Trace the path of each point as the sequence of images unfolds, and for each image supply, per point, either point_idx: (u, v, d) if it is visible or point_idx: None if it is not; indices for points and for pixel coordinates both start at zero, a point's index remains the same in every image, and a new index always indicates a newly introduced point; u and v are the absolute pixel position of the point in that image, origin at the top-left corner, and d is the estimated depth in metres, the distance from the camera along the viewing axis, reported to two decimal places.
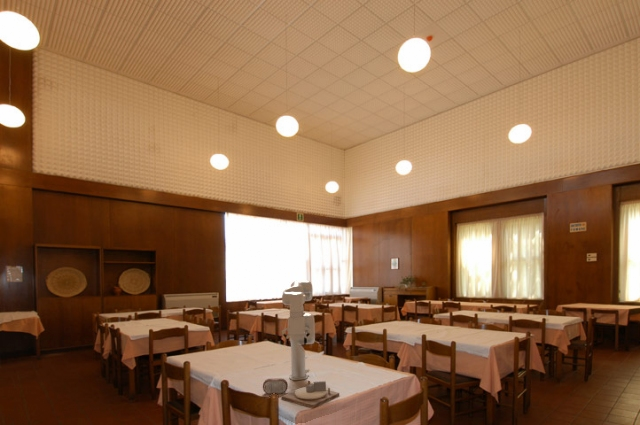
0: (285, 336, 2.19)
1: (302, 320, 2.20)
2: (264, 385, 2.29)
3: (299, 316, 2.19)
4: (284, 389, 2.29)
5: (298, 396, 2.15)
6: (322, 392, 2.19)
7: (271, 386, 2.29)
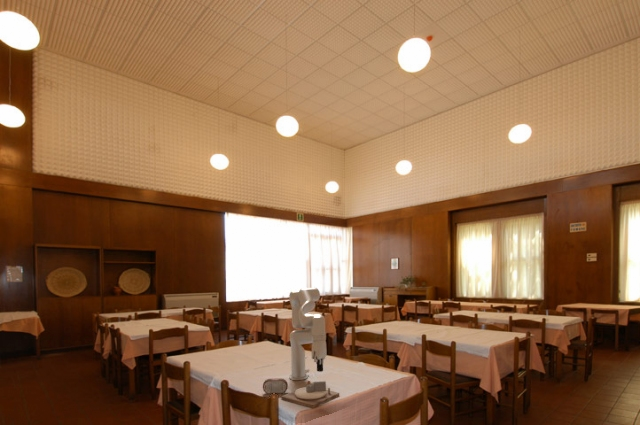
0: (319, 362, 2.16)
1: (325, 342, 2.22)
2: (264, 385, 2.29)
3: (325, 338, 2.20)
4: (284, 389, 2.29)
5: (298, 396, 2.15)
6: (322, 392, 2.19)
7: (271, 386, 2.29)
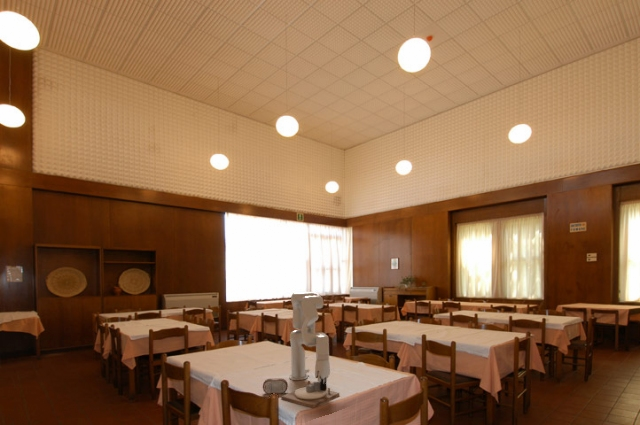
0: (322, 381, 2.18)
1: (328, 361, 2.23)
2: (264, 385, 2.29)
3: None
4: (284, 389, 2.29)
5: (298, 396, 2.15)
6: (322, 392, 2.19)
7: (271, 386, 2.29)
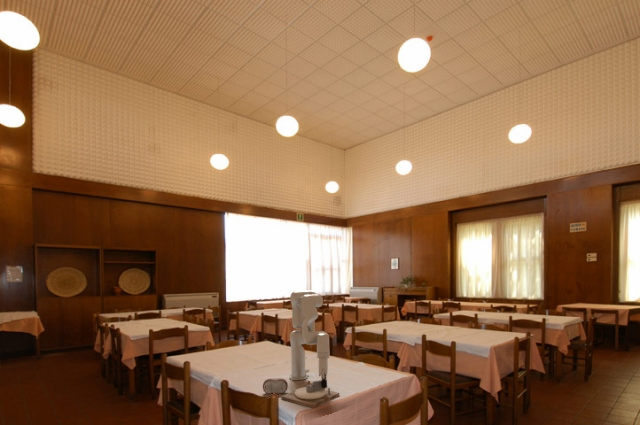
0: (325, 378, 2.21)
1: None
2: (264, 385, 2.29)
3: None
4: (284, 389, 2.29)
5: (302, 397, 2.13)
6: (323, 391, 2.22)
7: (271, 386, 2.29)
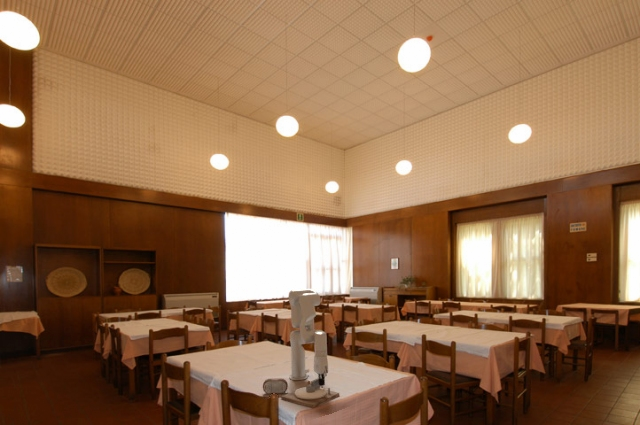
0: None
1: None
2: (264, 385, 2.29)
3: None
4: (284, 389, 2.29)
5: (310, 398, 2.13)
6: (321, 388, 2.25)
7: (271, 386, 2.29)
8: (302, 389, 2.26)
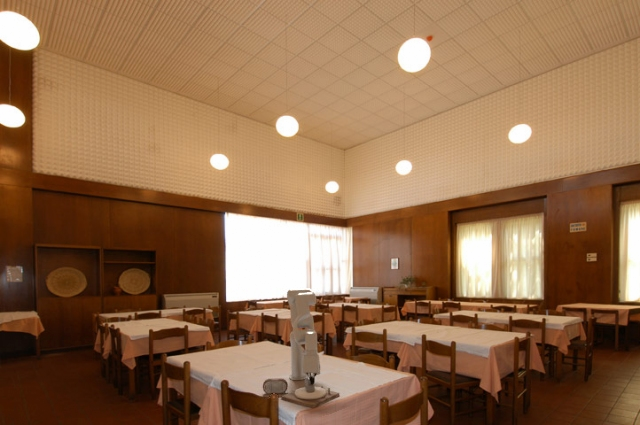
0: None
1: None
2: (264, 385, 2.29)
3: None
4: (284, 389, 2.29)
5: (322, 395, 2.16)
6: None
7: (271, 386, 2.29)
8: (299, 392, 2.20)
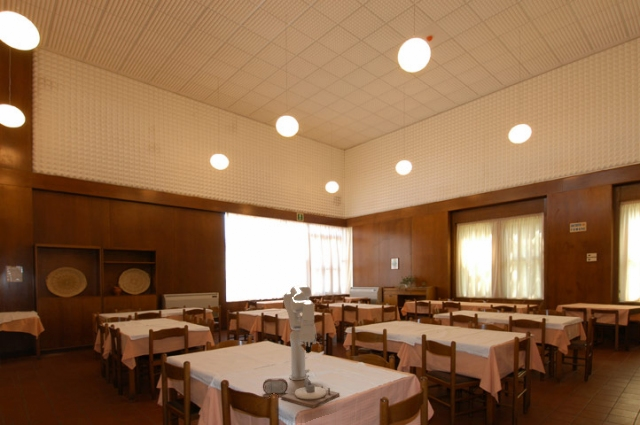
0: (311, 344, 2.37)
1: None
2: (264, 385, 2.29)
3: None
4: (284, 389, 2.29)
5: (323, 395, 2.16)
6: None
7: (271, 386, 2.29)
8: (299, 392, 2.20)
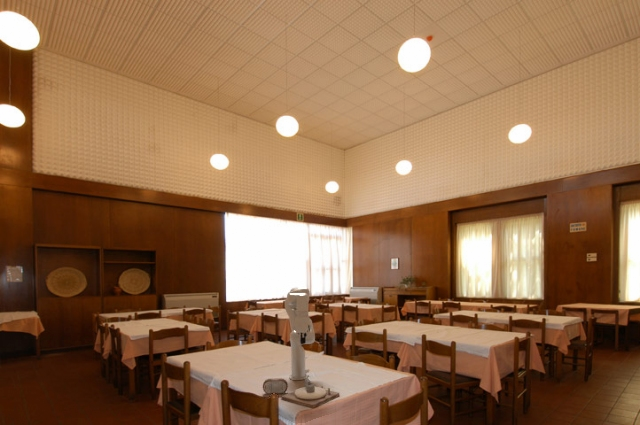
0: None
1: None
2: (264, 385, 2.29)
3: None
4: (284, 389, 2.29)
5: (323, 395, 2.16)
6: None
7: (271, 386, 2.29)
8: (299, 392, 2.20)
